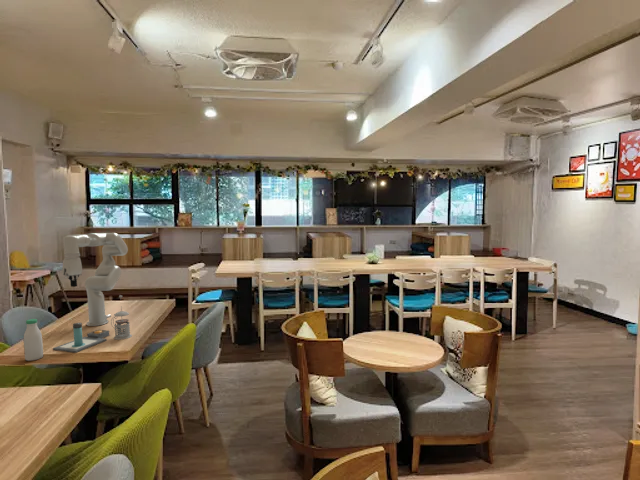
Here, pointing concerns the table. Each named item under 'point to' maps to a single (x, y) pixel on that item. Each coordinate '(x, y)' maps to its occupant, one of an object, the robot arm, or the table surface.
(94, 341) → the drawing board
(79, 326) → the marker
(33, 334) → the milk bottle
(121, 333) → the french press
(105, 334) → the button housing
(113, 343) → the table surface
